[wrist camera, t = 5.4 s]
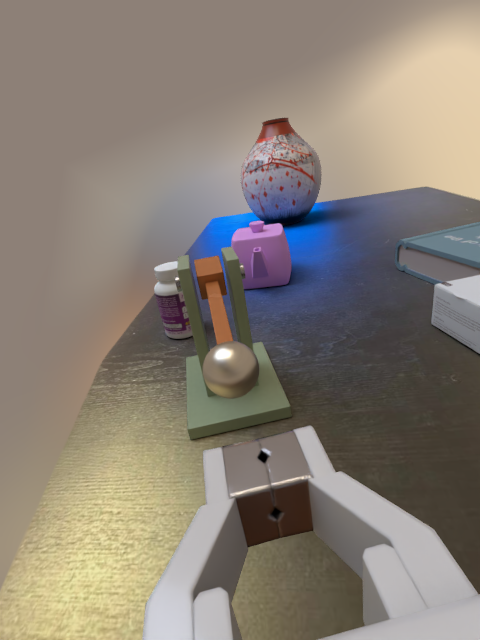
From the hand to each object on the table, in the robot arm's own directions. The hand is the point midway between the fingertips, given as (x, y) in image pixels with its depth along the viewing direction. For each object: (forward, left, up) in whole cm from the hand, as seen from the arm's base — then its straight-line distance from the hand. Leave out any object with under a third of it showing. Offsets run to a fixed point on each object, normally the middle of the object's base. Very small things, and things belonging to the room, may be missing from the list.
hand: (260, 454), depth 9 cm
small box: (+28, +22, -14) cm, 38 cm away
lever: (0, +17, -5) cm, 18 cm away
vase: (+27, +100, -14) cm, 105 cm away
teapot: (+10, +53, -14) cm, 56 cm away
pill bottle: (-5, +38, -14) cm, 41 cm away
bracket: (0, +22, -14) cm, 26 cm away
